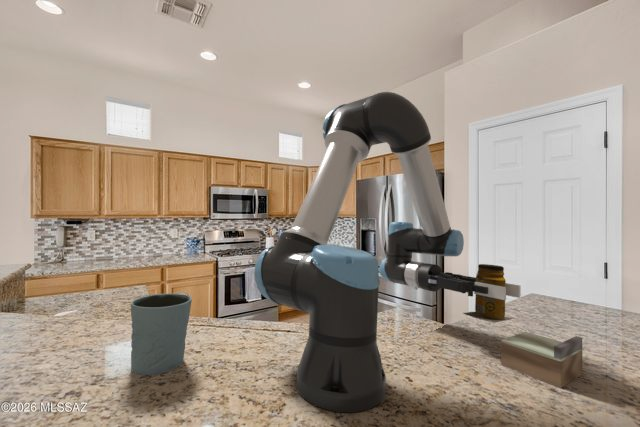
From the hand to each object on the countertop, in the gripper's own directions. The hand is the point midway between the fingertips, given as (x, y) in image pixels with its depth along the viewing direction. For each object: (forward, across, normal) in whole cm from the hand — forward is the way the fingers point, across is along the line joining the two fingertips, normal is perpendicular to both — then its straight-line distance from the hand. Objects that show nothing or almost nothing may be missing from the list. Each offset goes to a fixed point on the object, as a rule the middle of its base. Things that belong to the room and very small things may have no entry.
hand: (512, 292), depth 64 cm
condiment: (-5, +1, -7) cm, 8 cm away
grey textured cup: (-31, +66, -16) cm, 75 cm away
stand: (+5, 0, -14) cm, 15 cm away
